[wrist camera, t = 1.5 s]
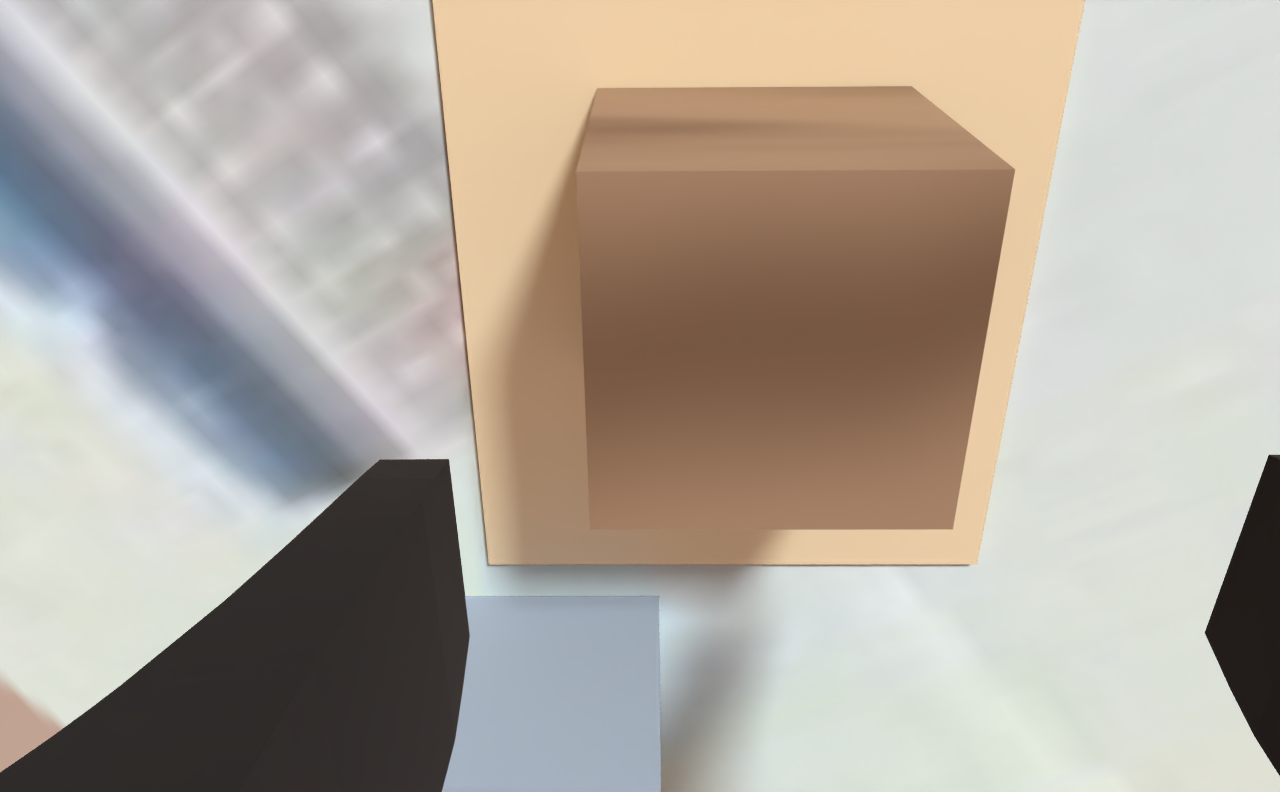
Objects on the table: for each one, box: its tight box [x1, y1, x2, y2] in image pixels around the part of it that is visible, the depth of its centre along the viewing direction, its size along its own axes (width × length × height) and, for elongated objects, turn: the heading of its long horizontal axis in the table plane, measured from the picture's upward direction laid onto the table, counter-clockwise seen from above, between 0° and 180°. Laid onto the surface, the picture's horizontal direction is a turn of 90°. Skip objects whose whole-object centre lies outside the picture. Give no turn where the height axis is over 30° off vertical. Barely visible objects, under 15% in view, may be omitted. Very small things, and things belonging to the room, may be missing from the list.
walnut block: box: [576, 86, 1015, 530], centre depth 15 cm, size 5×5×5 cm
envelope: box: [432, 0, 1085, 565], centre depth 17 cm, size 14×10×1 cm
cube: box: [442, 596, 661, 792], centre depth 20 cm, size 5×5×5 cm
